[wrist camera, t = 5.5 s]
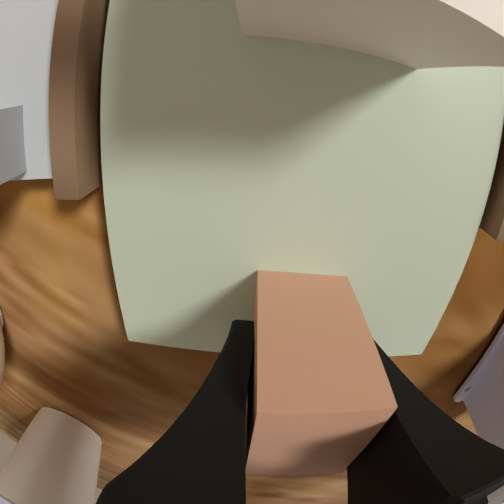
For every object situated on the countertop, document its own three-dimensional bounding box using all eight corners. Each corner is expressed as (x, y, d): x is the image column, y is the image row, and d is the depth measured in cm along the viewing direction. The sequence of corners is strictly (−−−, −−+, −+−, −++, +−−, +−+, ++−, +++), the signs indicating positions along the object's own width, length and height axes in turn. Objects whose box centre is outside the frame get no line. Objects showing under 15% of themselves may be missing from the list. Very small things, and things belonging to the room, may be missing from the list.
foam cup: (7, 387, 17) (-44, 500, 6) (81, 403, 17) (31, 557, 5) (62, 443, 22) (32, 540, 10) (135, 459, 21) (112, 577, 10)
